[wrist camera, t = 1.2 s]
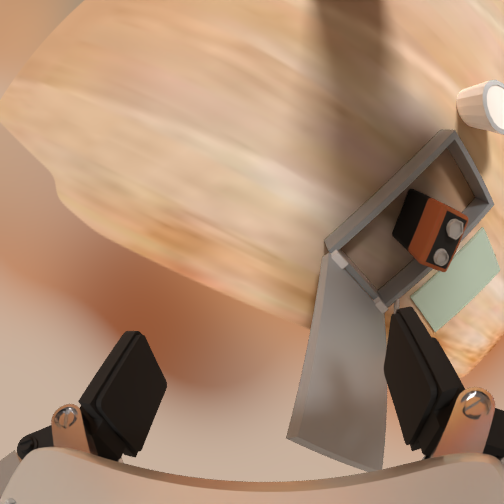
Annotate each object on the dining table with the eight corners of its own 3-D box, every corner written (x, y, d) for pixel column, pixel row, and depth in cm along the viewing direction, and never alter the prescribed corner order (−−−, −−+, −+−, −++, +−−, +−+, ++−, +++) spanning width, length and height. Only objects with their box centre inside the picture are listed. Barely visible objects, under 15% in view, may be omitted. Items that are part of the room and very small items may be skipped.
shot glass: (482, 86, 24) (512, 83, 17) (490, 132, 26) (520, 136, 20) (448, 82, 25) (477, 76, 19) (457, 131, 27) (487, 134, 21)
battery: (433, 198, 31) (475, 220, 22) (415, 244, 34) (450, 278, 25) (408, 186, 31) (448, 206, 22) (390, 235, 34) (422, 268, 25)
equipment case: (440, 129, 28) (493, 132, 18) (480, 198, 30) (528, 221, 20) (317, 246, 36) (330, 290, 25) (369, 302, 38) (392, 353, 28)
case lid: (297, 436, 15) (286, 438, 15) (381, 471, 17) (372, 473, 18) (328, 252, 31) (322, 256, 32) (384, 313, 34) (378, 316, 34)
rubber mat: (482, 226, 32) (483, 227, 31) (499, 269, 34) (500, 270, 33) (409, 296, 37) (410, 297, 37) (434, 330, 39) (435, 332, 39)
